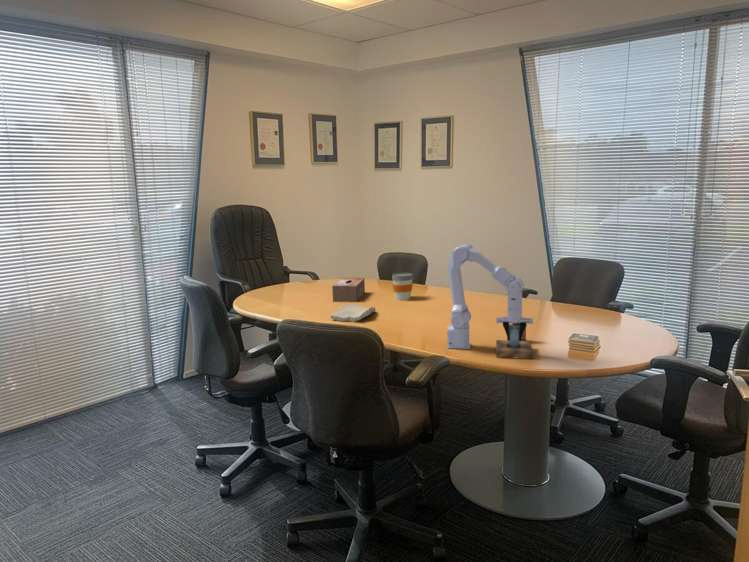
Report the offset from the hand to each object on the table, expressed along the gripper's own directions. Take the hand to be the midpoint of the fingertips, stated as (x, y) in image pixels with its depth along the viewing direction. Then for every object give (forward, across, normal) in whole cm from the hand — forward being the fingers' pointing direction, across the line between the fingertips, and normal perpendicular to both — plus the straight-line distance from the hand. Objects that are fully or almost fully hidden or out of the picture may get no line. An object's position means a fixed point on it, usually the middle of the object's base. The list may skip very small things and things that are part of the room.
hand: (514, 340), depth 222 cm
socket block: (+5, 0, 0) cm, 5 cm away
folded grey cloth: (+6, -80, +51) cm, 95 cm away
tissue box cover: (+6, -96, +97) cm, 137 cm away
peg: (+3, 0, 0) cm, 3 cm away
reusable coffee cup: (+6, -62, +96) cm, 114 cm away
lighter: (+6, +2, +17) cm, 18 cm away
